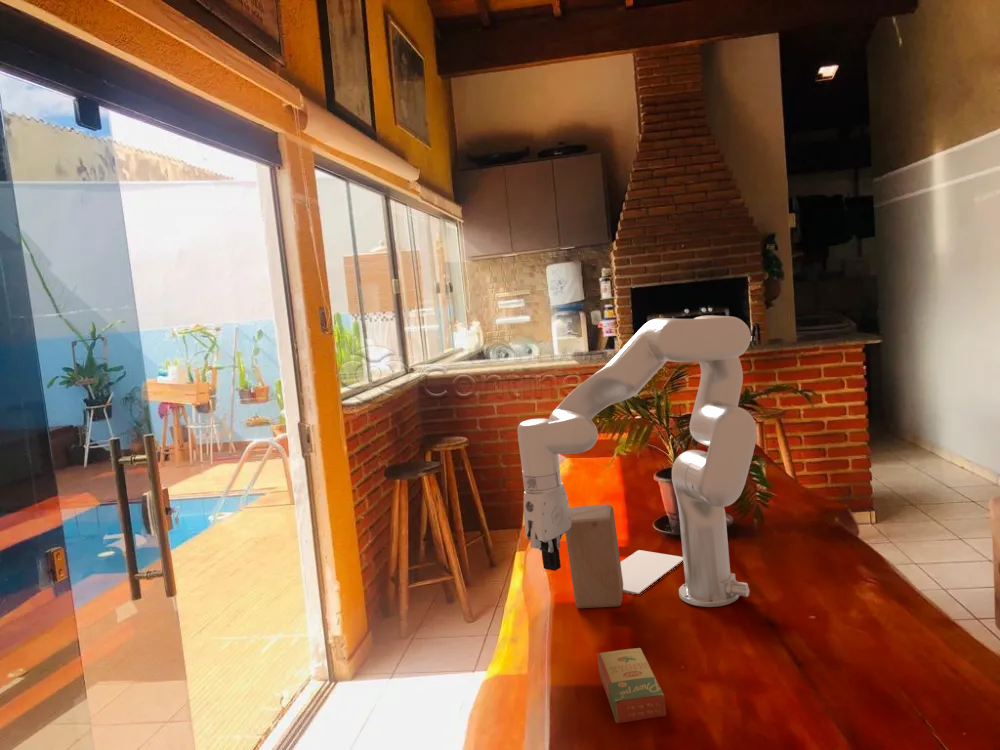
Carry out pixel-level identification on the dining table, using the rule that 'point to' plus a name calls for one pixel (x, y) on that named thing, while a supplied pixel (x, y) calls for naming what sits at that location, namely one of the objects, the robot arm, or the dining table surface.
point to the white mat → (645, 569)
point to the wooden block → (594, 557)
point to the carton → (630, 685)
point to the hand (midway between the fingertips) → (552, 568)
